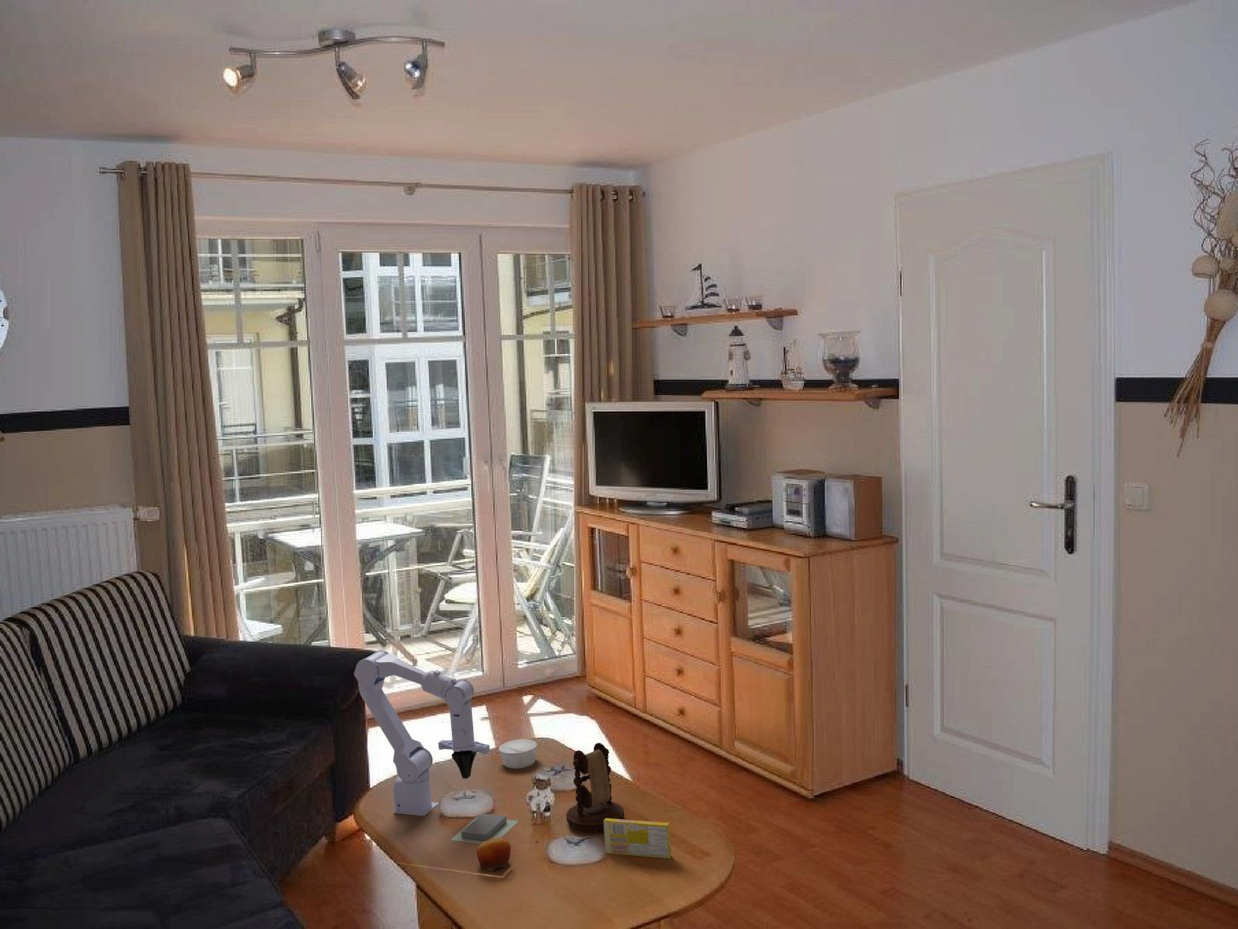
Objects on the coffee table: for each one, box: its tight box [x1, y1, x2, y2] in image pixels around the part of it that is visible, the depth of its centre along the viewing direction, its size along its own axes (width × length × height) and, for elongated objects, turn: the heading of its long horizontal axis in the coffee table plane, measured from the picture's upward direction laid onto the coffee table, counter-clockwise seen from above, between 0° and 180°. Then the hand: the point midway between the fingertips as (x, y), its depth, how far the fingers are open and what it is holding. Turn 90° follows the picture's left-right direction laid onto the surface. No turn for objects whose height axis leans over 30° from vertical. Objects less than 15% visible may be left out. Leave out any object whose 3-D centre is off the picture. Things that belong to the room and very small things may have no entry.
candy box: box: [603, 818, 673, 860], centre depth 270 cm, size 16×2×8 cm, turn 71°
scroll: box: [565, 742, 625, 835], centre depth 288 cm, size 15×15×20 cm
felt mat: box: [450, 816, 519, 845], centre depth 288 cm, size 12×14×1 cm
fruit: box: [476, 837, 511, 873], centre depth 268 cm, size 8×8×8 cm
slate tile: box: [460, 813, 508, 841], centre depth 288 cm, size 2×11×7 cm
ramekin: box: [498, 738, 538, 770], centre depth 333 cm, size 11×11×5 cm
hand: (466, 777), depth 299 cm, fingers closed
